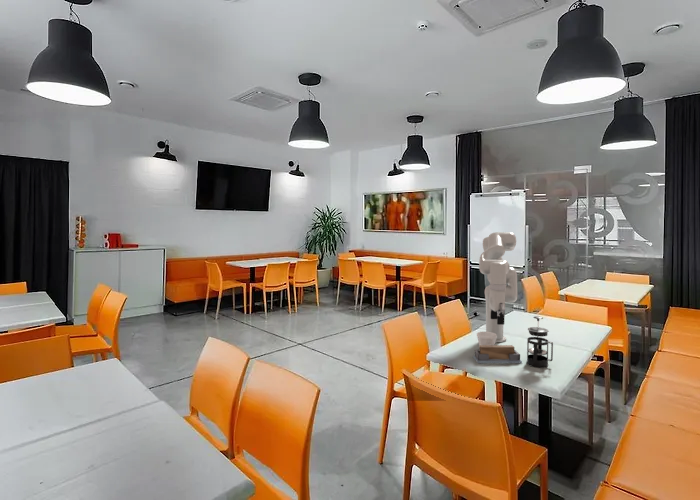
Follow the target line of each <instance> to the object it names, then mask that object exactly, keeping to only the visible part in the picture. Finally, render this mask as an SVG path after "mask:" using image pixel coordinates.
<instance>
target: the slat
mask: <svg viewBox="0 0 700 500" xmlns="http://www.w3.org/2000/svg"><path fill="white" fill-rule="evenodd" d="M478 346H479V349H478V350H479V353H480V354H489V359H509V354H514V350H515V346H514V345H513V344H512V345H510V344H505V345H502V344H500V345H499V344H498V345H497V344H495V345H479V344H478Z"/></svg>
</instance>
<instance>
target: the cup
mask: <svg viewBox="0 0 700 500" xmlns="http://www.w3.org/2000/svg"><path fill="white" fill-rule="evenodd" d="M476 338H477V341H478V346H479V345H496V343H497V342H496V338H497V335H496V334H495V333H492V332H486V331H478V332H477V333H476Z"/></svg>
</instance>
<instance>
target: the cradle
mask: <svg viewBox="0 0 700 500" xmlns="http://www.w3.org/2000/svg"><path fill="white" fill-rule="evenodd" d="M472 358H473V359H474V361H475V362H476V363H477V364H523V363H522V362H523V360H521V353H520V352H518V351H517V350H515V349H514V354H509V359H489V354H480V353H479V349H475V350H474V354H473V355H472Z"/></svg>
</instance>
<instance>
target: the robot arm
mask: <svg viewBox="0 0 700 500" xmlns="http://www.w3.org/2000/svg"><path fill="white" fill-rule="evenodd" d="M516 245H517V236H516V234H515V233H514V232H509V231H507V232H506V231H505V232H504V231H503V232H499V231H498V232H492V233H490V234H489V236H486V237H484V238H483V239H482V248H483V252H482V253H481V254H480V256H479V262H478V263H479V265H478V268H479V269H478V270H479V271H480V273H481V274H483V275H486V276H487V281H488V282H489V285H487V286H486V287H485V289H484V298H485V310H486V311H485V332H492V333H495V334H496V335H497V338H496V342H495V343H503V342H506V341H507V337H506V336H505V335H504V325H505V316H506V315H505V314H506V303H515V302H516V301H517V300H518V275H517V271H516V269H515V268H514V267H511V266H510V263H509V262H508V261H507V260H504V259H503V256H504V255H505V253H506V252H511V251H512V252H513V251H514V249H515V247H516Z"/></svg>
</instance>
